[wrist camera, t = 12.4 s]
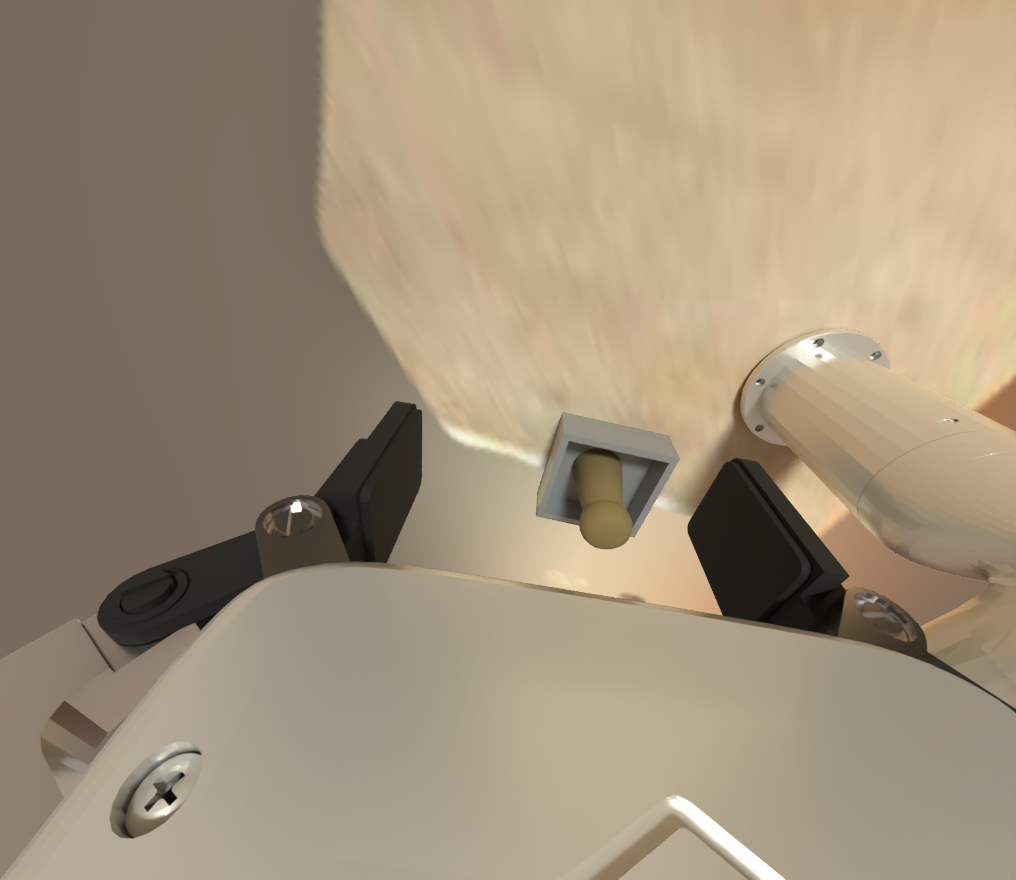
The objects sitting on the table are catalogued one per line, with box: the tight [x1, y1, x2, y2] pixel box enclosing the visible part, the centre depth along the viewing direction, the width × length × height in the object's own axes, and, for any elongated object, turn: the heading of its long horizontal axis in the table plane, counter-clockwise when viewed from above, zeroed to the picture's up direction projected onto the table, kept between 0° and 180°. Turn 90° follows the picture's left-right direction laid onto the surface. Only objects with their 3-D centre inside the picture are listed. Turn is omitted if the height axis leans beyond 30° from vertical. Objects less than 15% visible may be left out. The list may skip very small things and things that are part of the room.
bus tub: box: [536, 413, 680, 537], centre depth 43 cm, size 13×13×4 cm
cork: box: [572, 449, 632, 549], centre depth 40 cm, size 6×6×11 cm
